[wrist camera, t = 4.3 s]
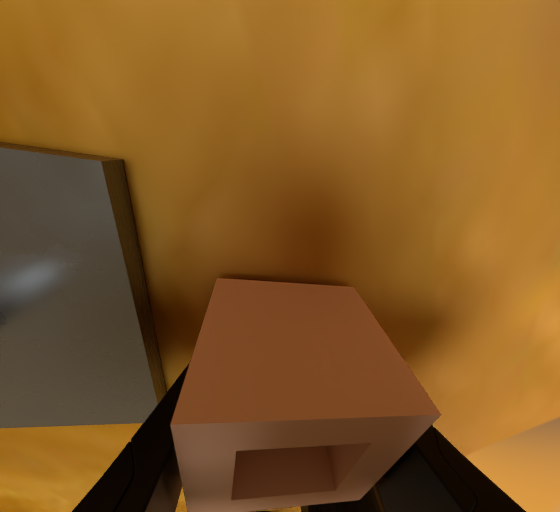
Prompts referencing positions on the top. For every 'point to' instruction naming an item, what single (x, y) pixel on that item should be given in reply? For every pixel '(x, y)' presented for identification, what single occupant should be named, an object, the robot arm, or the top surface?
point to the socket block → (292, 399)
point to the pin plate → (72, 294)
